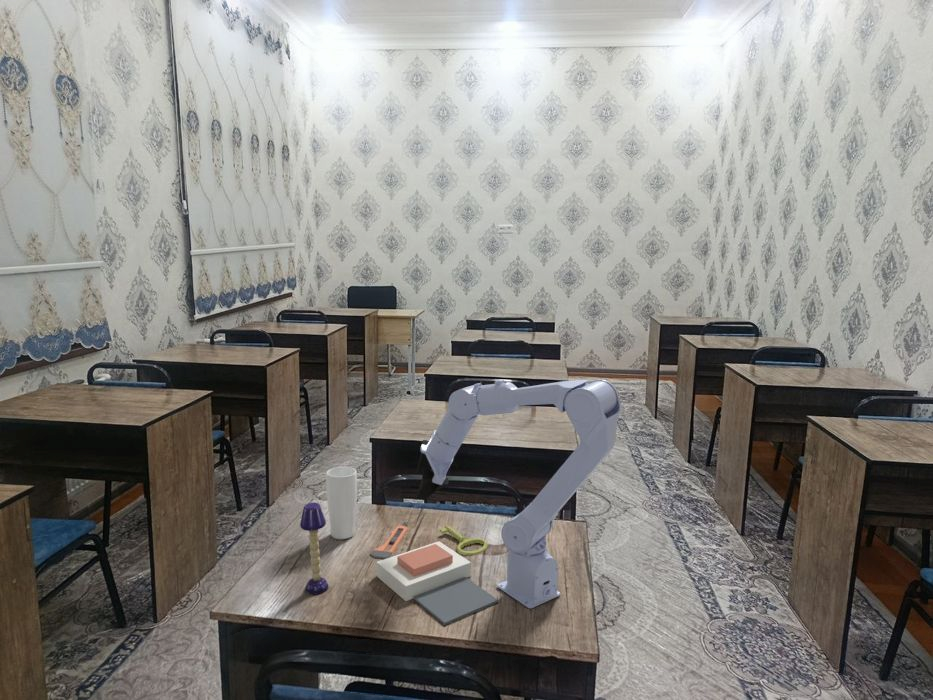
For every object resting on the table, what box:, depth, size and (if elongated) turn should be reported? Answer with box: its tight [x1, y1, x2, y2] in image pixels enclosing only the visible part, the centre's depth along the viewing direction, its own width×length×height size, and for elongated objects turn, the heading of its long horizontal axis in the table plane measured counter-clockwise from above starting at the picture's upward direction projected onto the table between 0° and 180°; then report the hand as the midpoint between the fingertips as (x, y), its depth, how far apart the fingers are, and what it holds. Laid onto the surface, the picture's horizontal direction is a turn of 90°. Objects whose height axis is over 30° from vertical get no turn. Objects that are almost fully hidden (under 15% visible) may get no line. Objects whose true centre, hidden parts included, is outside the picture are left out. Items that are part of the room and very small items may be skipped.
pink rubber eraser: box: [397, 544, 453, 576], centre depth 122 cm, size 6×9×2 cm, turn 127°
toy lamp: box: [300, 502, 329, 595], centre depth 117 cm, size 5×5×17 cm
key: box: [439, 525, 488, 556], centre depth 137 cm, size 7×12×2 cm, turn 56°
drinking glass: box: [325, 466, 358, 540], centre depth 139 cm, size 7×7×15 cm
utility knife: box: [370, 521, 409, 560], centre depth 139 cm, size 4×1×18 cm
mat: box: [412, 577, 499, 626], centre depth 115 cm, size 10×12×1 cm
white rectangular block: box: [375, 541, 472, 602], centre depth 123 cm, size 11×15×3 cm
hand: (421, 485), depth 130 cm, fingers open, 7 cm apart
